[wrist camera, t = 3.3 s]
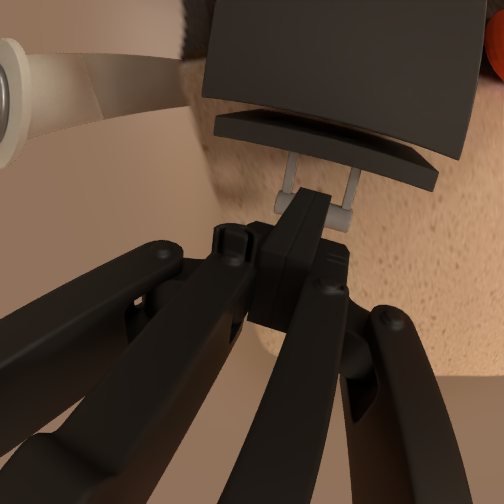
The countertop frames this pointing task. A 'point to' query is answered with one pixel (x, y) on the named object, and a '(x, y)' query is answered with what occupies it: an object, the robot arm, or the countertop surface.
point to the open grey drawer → (327, 154)
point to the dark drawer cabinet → (354, 63)
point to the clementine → (495, 42)
